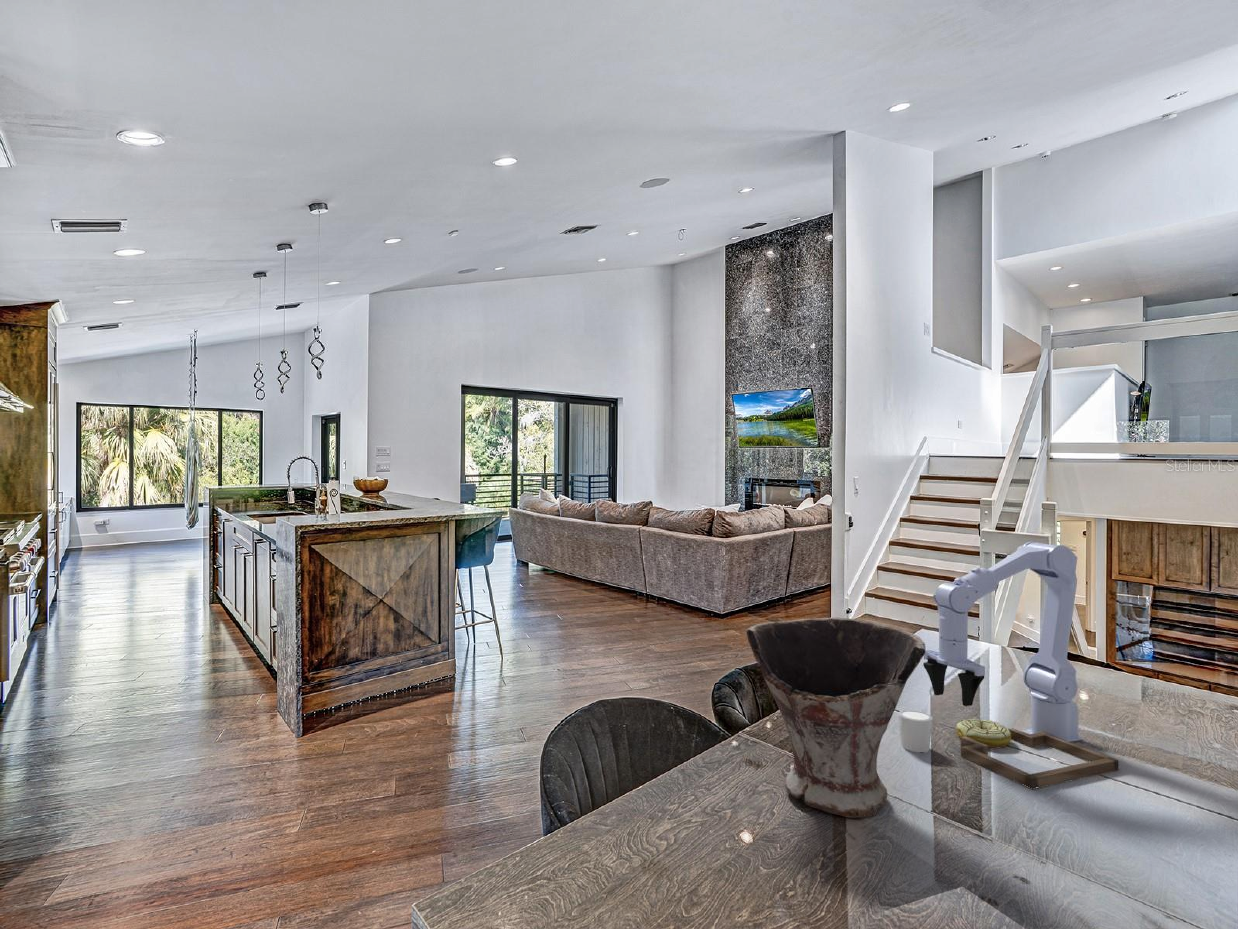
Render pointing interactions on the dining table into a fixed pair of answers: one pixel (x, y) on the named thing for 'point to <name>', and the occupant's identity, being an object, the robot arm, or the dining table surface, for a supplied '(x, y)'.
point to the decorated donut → (984, 732)
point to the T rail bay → (1095, 767)
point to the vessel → (836, 703)
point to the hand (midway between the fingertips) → (952, 700)
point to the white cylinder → (915, 730)
